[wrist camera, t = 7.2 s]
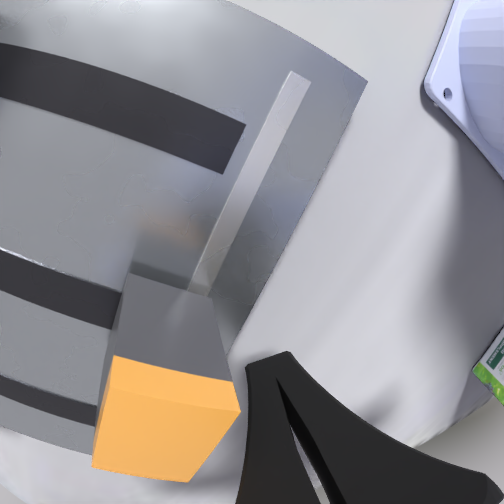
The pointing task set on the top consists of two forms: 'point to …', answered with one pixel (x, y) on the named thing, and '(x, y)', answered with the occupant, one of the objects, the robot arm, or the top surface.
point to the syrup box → (493, 368)
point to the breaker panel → (144, 177)
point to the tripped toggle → (162, 385)
